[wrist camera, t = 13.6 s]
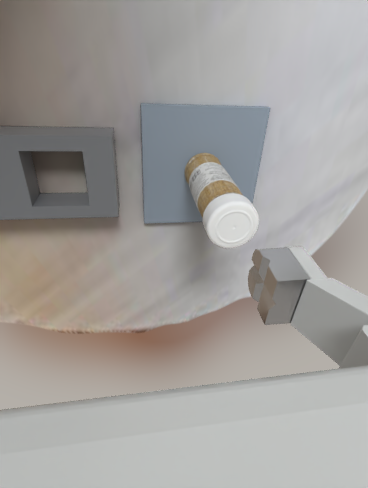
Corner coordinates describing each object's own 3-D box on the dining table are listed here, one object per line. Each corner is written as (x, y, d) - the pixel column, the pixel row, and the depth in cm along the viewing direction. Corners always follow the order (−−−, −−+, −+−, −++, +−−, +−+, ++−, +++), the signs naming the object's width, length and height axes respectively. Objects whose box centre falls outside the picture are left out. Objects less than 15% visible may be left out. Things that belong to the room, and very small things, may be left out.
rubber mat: (140, 103, 32) (141, 104, 31) (267, 106, 34) (270, 108, 33) (144, 220, 40) (144, 223, 39) (247, 217, 42) (249, 220, 41)
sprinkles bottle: (204, 195, 38) (234, 258, 27) (175, 174, 36) (195, 234, 25) (229, 166, 36) (271, 221, 25) (200, 142, 34) (233, 191, 23)
